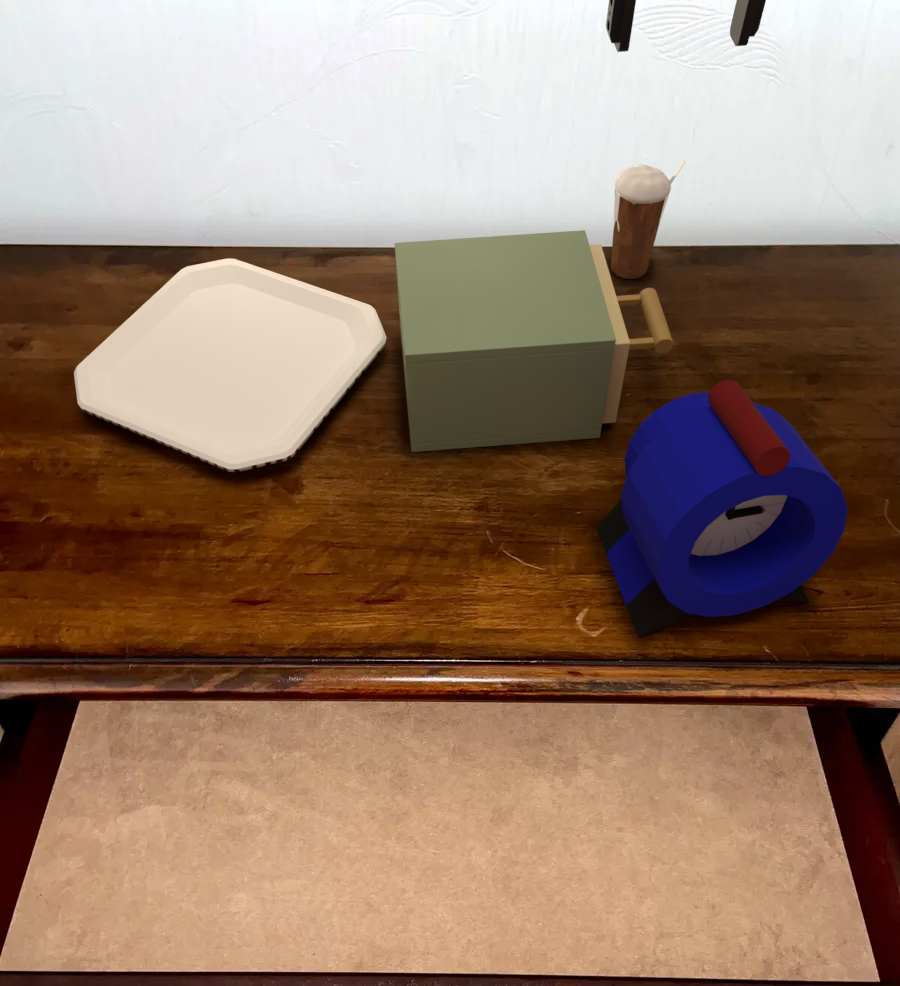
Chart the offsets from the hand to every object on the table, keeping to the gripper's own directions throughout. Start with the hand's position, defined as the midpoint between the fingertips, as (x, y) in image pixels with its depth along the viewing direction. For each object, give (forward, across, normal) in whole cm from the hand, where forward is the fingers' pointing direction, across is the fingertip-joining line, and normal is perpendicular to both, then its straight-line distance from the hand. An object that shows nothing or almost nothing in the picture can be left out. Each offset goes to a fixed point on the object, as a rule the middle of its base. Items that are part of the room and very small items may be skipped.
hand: (679, 43), depth 67 cm
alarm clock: (+20, -2, -31) cm, 37 cm away
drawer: (+19, -10, -12) cm, 25 cm away
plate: (+20, -35, -8) cm, 41 cm away
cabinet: (+20, -14, -12) cm, 27 cm away
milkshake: (+20, 0, +2) cm, 20 cm away
